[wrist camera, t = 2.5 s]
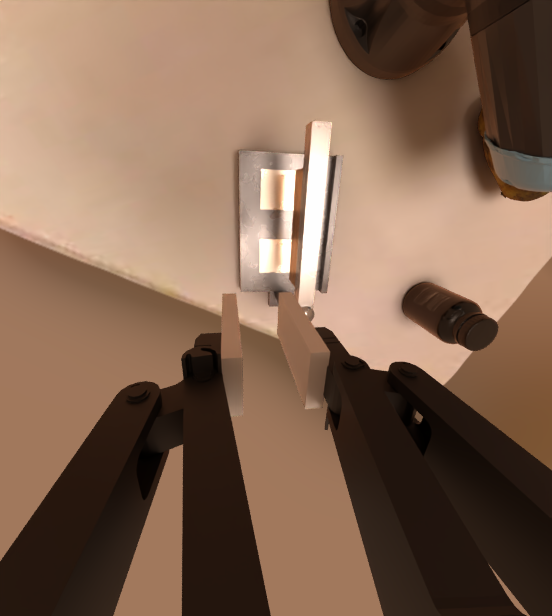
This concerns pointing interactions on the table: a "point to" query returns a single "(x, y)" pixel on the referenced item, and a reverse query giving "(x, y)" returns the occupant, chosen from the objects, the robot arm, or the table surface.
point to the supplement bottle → (449, 316)
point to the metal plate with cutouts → (278, 219)
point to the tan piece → (309, 214)
